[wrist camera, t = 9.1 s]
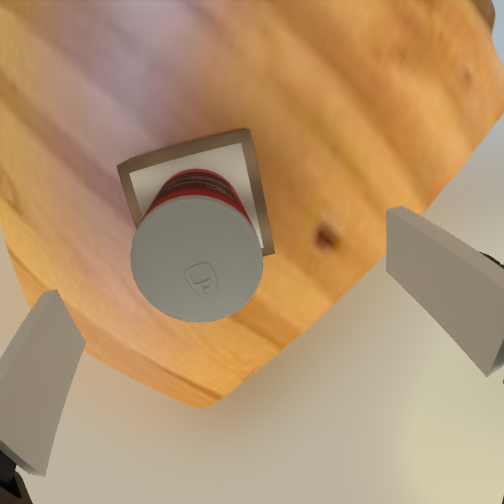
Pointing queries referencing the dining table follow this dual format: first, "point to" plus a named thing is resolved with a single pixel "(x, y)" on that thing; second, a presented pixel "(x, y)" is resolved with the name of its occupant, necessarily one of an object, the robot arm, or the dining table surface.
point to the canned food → (197, 249)
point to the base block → (208, 158)
